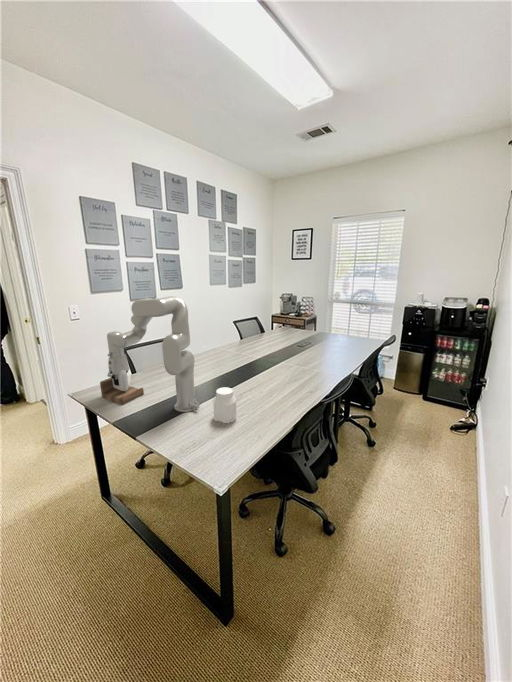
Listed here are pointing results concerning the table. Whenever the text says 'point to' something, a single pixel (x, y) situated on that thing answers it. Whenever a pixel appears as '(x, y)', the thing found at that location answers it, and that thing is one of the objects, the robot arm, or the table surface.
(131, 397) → the cleat board
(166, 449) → the table surface
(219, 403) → the jar
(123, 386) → the photo printer
